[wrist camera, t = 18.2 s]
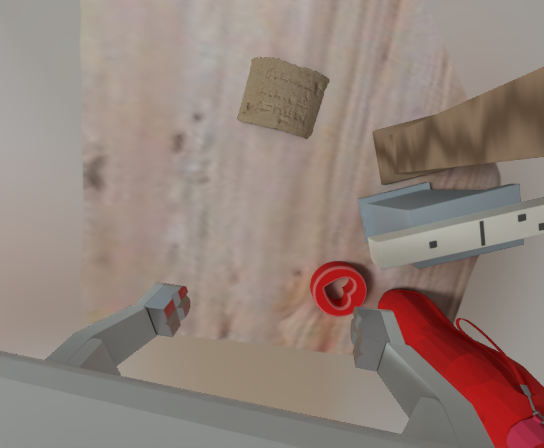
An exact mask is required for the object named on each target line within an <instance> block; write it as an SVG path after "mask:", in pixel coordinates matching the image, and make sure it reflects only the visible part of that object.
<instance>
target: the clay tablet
mask: <svg viewBox="0 0 544 448" xmlns="http://www.w3.org/2000/svg"><path fill="white" fill-rule="evenodd" d="M328 83H329V80H328V78H326V77H325V76H323V75H320V73H318V72H317V71H313V70H311V69H308V68H304V67H303V68H302V67H300V68H299V67H297V66H296V65H295V64H290V63H288V62H286V61H281V60H280V59H275V58H270V57H268V58H267V57H265V58H262V57H260V58H254V59H252V65H251V68H250V73H249V77H248V81H247V85H246V89H245V92H244V96H243V99H242V104H241V107H240V110H239V114H238V117H237V119H238V120H240V121H242V122H246V123H247V122H249V123H254V124H255V125H261V126H264V127H268V128H276V129H278V130H282V131H285V132H286V133H292V134H294V135H297V136H301V137H304V138H305V139H308V137H309V136H311V134H312V132H313V127H314V124H315V121H316V117H317V115H318V112H319V109H320V105H321V102H322V99H323V96H324V91H325V89H326V87H327V84H328Z"/></svg>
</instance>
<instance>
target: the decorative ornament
mask: <svg viewBox="0 0 544 448" xmlns="http://www.w3.org/2000/svg"><path fill="white" fill-rule="evenodd" d="M341 278H349V281H348V283H347V284H346V285H345V286H344V287H342V288H343V291H344V294H343V297H342V298H341V299H339V300H333V299H331V298H330V297H329V296H328V295H327V294H326V291H325V288H324V287H325V286H327V285H328V284H330V283H332V282H333V281H335V280H338V279H341ZM310 288H311V293H312V296H313V299H314V301H315V303H316V305H317V307H318V308H319V309H320V310H321V311H322V312H324V313H326V314H328V315H331V316H336V317H342V316H347V315H350V314H352V313H353V311H354V307H355V306H356V307H361V306H362V304H363V303H364V301H365V298H366V295H367V285H366V282H365V279H364V278H363V276H362V275H361V274H360V273H359V272H358V271H357V270H356V269H355V268H354V267H353V266H352V265H350V264H348V263H346V262H341V261H334V262H329V263H326V264H324V265H322V266H321V267H320V268H319V269H317V271H316V272H315V273H314V275H313V276H312V279H311V284H310Z"/></svg>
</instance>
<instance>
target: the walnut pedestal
mask: <svg viewBox="0 0 544 448" xmlns="http://www.w3.org/2000/svg"><path fill="white" fill-rule="evenodd" d="M373 137H374V143H375V149H376V155H377V161H378V167H379V172H380V178H381V184H389V183H393V182H397V181H401V180H405V179H409V178H413V177H417V176H421V175H425V174H429V173H433V172H437V171H441V170H445V169H449V168H453V167H457V166H466V165H475V164H484V163H493V162H502V161H510V160H519V159H528V158H537V157H544V67H542V68H540V69H538V70H535V71H533V72H531V73H529V74H526V75H524V76H522V77H520V78H518V79H515V80H513V81H511V82H509V83H506V84H504V85H502V86H499V87H497V88H495V89H493V90H490V91H488V92H486V93H484V94H481V95H479V96H477V97H475V98H472V99H470V100H468V101H466V102H463V103H461V104H459V105H457V106H454V107H452V108H450V109H448V110H445V111H443V112H441V113H439V114H436V115H432V116H428V117H425V118H421V119H417V120H413V121H409V122H405V123H402V124H398V125H394V126H390V127H386V128H382V129H379V130H375V131H374V132H373Z"/></svg>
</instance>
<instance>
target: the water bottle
mask: <svg viewBox="0 0 544 448" xmlns="http://www.w3.org/2000/svg"><path fill="white" fill-rule="evenodd" d="M378 309H383V310H392V311H393V312H394V315H395V318H396V320H397V323H398V326H399V328H400V331H401V333H402V336H403V339H404V341H405V344H406V345H409V346H411V347H412V348H413V349H414V350H415V351H416V352H417V353H418V354H419V355H420V356H421V357H423V358H424V359H425V360H426V361H427V362H428V363H429V364H430V365H431V366H432V367H433V368H434V369H435V370H436V371H437V372H438V373H439V374H441V375H442V376H443V377H444V378H445V379H446V380H447V381H448V382H449V383H450V384H451V385H452V386H453V387H454V388H455V389H456V390H457V391H458V392H460V393H461V394H462V395H463V396H464V397H465V398H466V399H467V400H468V401H469V402H470V403H471V404H472V405H473V407H474V409H475V411H476V413H477V414H478V416H479V418H480V420H481V422H482V424H483V426H484V428H485V430H486V432H487V433H488V435H489V437H490V439H491V441H492V443H493V445H494V447H495V448H544V387H543V386H542V385H541V384H540V383H539V382H538V381H537V380H536V379H535V378H534V377H533V376H532V375H531V374H530V373H529V372H528V371H527V370H526V369H525V368H524V367H523V366H522V365H520V364H519V363H517V362H515V361H514V360H512V359H510V358H509V357H507V356H506V355H505V353H504V352H503V351H502V350H501V349H500V348H499V347H498V346H497V345H496V344H495V343H494V342H493V341H492V340H491V339H490V338H489V337H488V336H487V335H486V334H485V333H484V332H482V331H481V330H480V329H479V328H478V327H476V326H475V325H474V324H472V323H471V322H470V321H468V320H465V319H463V320H465V321H467V322H468V323H470V324H471V325H472V326H474V327H475V328H476V329H477V330H478V331H479V332H481V333H482V334H483V335H484V336H485V337H486V338H487V339H488V340H489V341H490V342H491V343H492V344H493V345H494V346H495V347H496V348H497V350H498V351H499V352H498V351H496V350H494V349H492V348H490V347H488V346H486V345H484V344H482V343H479V342H477V341H475V340H473V339H472V338H471V337H469V336H468V335H467V334H466V333H465V332H464V331H462V329H461V328H460V326H459V320H460V319H461V318H458V319H457V320H456V325H457V327H458V329H459V330H460V331H461V332H460V331H459V330H458V329H456V327H455V326H454V325H453V324H452V323H451V322H450V320H449V319H448V318H447V317H446V316H445V315H444V313H443V312H442V311H441V310H440V309H439V308H438V306H437V305H436V304H434V303H433V302H432V301H431V300H430V299H429V298H427V297H426V296H425V295H423V294H420V293H418V292H414V291H408V290H402V289H395V290H389V291H388V292H386V293H384V294H383V296H382V298H381V299H380V301H379V305H378Z"/></svg>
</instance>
